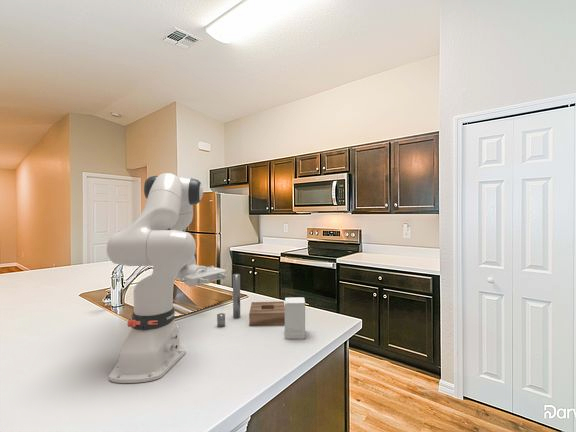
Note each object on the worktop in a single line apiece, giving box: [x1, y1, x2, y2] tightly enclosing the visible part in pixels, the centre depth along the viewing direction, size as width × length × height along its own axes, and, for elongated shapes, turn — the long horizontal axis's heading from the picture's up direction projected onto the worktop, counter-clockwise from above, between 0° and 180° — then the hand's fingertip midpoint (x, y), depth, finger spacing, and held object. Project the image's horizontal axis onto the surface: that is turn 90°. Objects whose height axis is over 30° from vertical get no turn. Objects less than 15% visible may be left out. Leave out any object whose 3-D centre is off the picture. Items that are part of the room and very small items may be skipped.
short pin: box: [216, 312, 226, 329], centre depth 116 cm, size 3×3×4 cm
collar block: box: [248, 300, 285, 327], centre depth 123 cm, size 14×14×5 cm
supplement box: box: [284, 296, 306, 340], centre depth 108 cm, size 7×7×13 cm
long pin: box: [232, 273, 241, 319], centre depth 125 cm, size 3×3×18 cm
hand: (217, 279), depth 133 cm, fingers open, 8 cm apart
